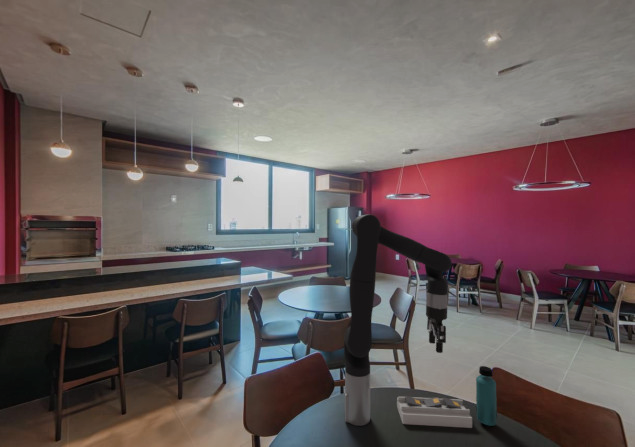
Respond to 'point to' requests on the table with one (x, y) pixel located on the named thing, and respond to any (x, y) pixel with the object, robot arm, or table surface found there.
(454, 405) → the right rocker
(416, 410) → the power strip
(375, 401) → the table surface
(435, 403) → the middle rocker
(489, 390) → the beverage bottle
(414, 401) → the left rocker
